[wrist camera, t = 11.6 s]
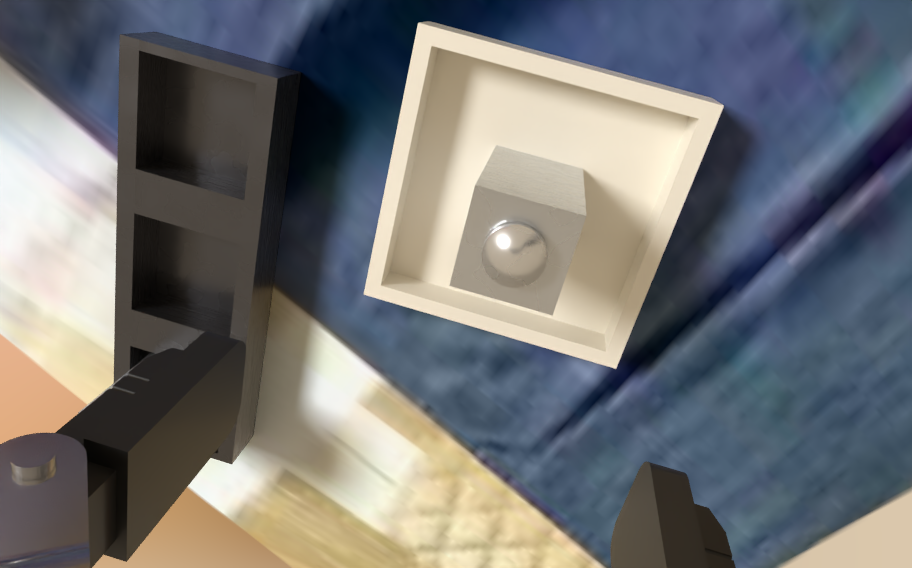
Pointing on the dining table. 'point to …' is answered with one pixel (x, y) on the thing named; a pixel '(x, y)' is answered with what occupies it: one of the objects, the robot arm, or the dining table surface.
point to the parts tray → (548, 136)
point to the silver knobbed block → (521, 230)
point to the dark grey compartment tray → (199, 202)
